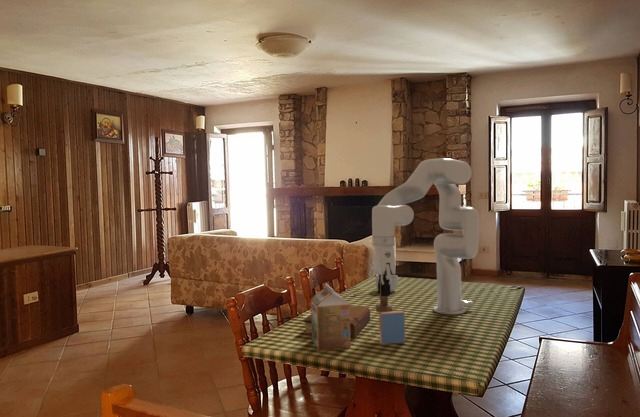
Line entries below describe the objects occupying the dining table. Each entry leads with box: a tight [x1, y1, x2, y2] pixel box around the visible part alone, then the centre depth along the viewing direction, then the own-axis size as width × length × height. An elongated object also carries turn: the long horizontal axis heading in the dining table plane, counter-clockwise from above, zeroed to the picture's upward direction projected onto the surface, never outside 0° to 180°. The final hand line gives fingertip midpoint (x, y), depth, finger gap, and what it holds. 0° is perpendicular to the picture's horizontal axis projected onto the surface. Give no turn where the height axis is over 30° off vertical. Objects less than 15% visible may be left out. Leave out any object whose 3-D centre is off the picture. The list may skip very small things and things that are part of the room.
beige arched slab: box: [302, 305, 371, 339], centre depth 172 cm, size 23×19×6 cm
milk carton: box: [310, 283, 352, 352], centre depth 153 cm, size 11×11×19 cm
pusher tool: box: [375, 274, 393, 313], centre depth 160 cm, size 6×6×14 cm
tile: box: [378, 310, 406, 345], centre depth 153 cm, size 8×2×10 cm, turn 98°
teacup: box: [375, 273, 399, 293], centre depth 228 cm, size 14×11×8 cm
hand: (384, 294), depth 160 cm, fingers closed on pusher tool, 2 cm apart
